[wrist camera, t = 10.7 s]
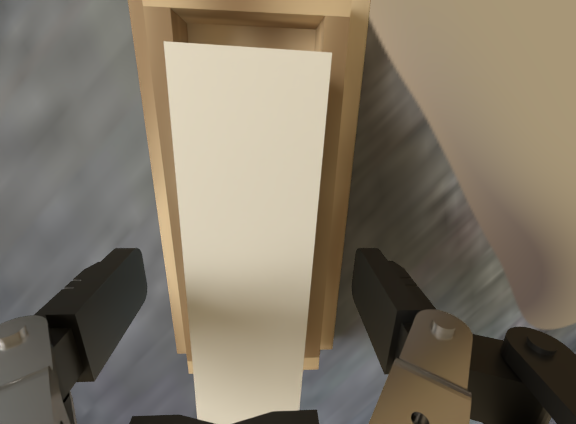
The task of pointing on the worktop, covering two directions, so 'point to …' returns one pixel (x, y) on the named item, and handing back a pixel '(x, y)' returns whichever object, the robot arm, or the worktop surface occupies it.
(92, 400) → the worktop surface
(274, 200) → the cream rectangular block
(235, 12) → the wooden tray
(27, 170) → the worktop surface
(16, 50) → the worktop surface
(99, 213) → the worktop surface
